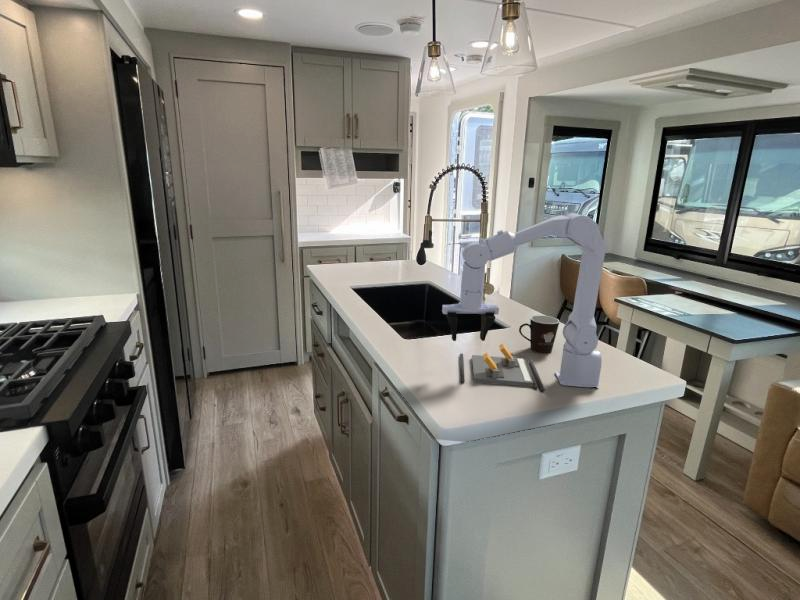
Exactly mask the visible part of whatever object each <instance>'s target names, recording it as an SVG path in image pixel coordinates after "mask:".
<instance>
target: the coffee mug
mask: <svg viewBox="0 0 800 600" xmlns="http://www.w3.org/2000/svg"><path fill="white" fill-rule="evenodd" d="M529 319H530V320H529V321H530V322H529V323H530V324H529V323H522V324H521V325H520V326H519V328H518V332H519V335H521V336H522V338H524V339H525V340H527V341H529V343H530V350H531V351H532V352H534V353H538V354H541V355H542V354H543V355H544V354H545V355H548V354H552V352H553V348H554V344H555V340H556V337H557V332H558V328H559V325H560V320H559V319H558V318H556V317H553V316H550V315H540V314H539V315H538V314H537V315H532V316H530V317H529ZM525 326H528V327H529V329H530V330H529V331H530V334H529V335H530V338H528V337H527V336H525V335H524V334H523V332H522V328H523V327H525Z"/></svg>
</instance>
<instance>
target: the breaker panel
mask: <svg viewBox="0 0 800 600" xmlns="http://www.w3.org/2000/svg"><path fill="white" fill-rule="evenodd" d="M510 354H511V355H512V358H513V360H512V359H509V361H508V360H507V358H506V357H505V356H504V357H503V356H492V355H489V356H490V357H491V359H492V360H493V361H494V363H495V364H496V366H497V370H493V371H492V370H491V369H490V367H489V366H488V365H487V363H486V362H485V361H484V358H483V355H480V354H479V355H477V354H472V355H471V363H472V364H471V365H472V375H473V383H480V384H482V383H483V384H492V385H493V384H494V385H503V386H504V385H505V386H517V387H529V388H534V387H533V380H532V378H531V375H530V372H529V370H528V367H527V365H526V362H525V361H526V359H525V358H517V357H513V352H510Z"/></svg>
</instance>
